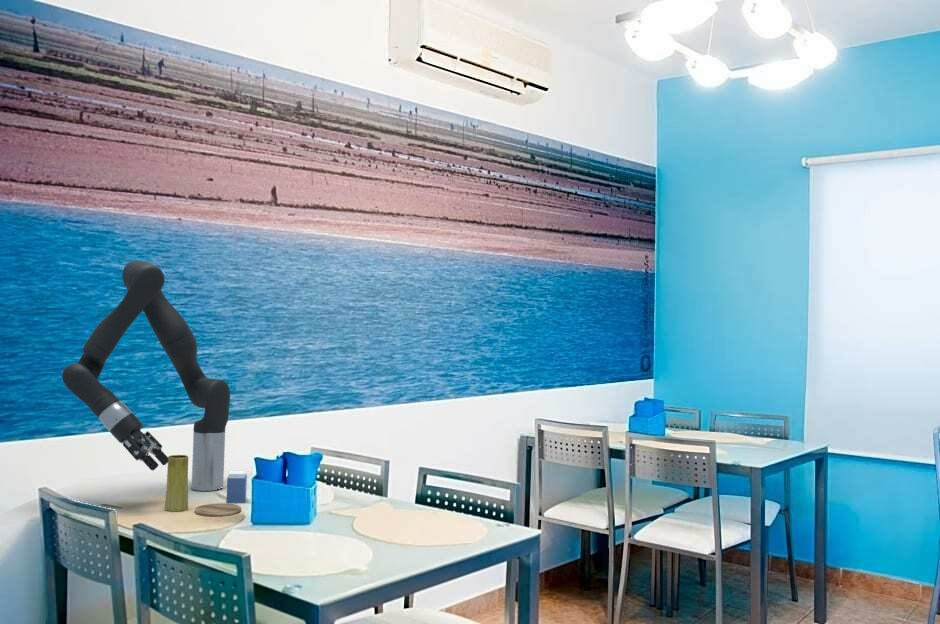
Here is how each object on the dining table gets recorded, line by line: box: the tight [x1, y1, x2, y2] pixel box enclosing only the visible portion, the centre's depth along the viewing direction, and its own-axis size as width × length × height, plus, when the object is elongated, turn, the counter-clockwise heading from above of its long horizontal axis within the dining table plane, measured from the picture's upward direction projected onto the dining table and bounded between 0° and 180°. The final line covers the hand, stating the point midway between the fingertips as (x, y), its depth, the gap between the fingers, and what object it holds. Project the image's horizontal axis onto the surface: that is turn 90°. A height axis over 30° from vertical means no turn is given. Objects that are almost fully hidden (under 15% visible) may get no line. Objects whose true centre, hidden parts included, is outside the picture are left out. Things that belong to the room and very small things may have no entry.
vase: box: [164, 454, 189, 512], centre depth 231 cm, size 6×6×14 cm
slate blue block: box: [225, 470, 248, 504], centre depth 243 cm, size 5×5×8 cm
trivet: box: [194, 502, 242, 518], centre depth 230 cm, size 12×12×1 cm
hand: (161, 465), depth 231 cm, fingers open, 8 cm apart
